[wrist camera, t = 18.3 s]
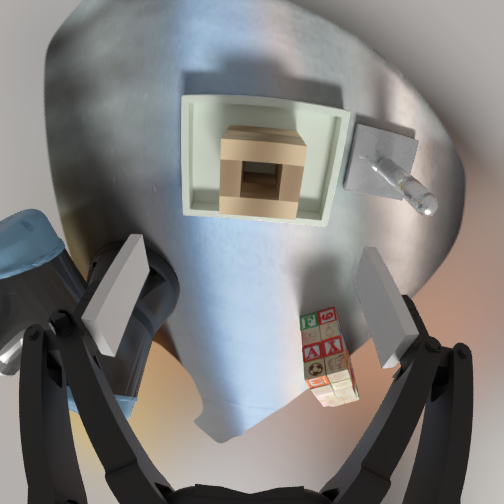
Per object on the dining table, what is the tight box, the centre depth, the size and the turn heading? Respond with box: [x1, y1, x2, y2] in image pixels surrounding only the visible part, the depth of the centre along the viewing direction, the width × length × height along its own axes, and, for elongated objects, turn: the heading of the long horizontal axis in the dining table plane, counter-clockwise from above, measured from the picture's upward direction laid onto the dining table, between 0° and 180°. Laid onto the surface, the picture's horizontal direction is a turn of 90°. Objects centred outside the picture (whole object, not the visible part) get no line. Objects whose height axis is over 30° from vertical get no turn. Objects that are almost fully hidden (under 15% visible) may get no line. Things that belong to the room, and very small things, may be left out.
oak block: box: [219, 125, 307, 220], centre depth 26 cm, size 7×7×7 cm
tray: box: [181, 94, 351, 227], centre depth 28 cm, size 17×14×2 cm
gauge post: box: [343, 123, 438, 217], centre depth 23 cm, size 8×8×12 cm
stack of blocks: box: [299, 307, 359, 407], centre depth 44 cm, size 21×6×12 cm, turn 24°
